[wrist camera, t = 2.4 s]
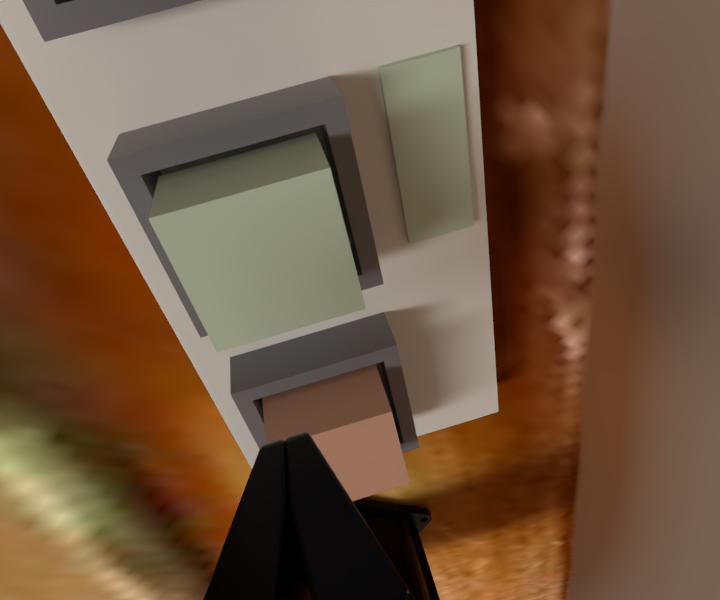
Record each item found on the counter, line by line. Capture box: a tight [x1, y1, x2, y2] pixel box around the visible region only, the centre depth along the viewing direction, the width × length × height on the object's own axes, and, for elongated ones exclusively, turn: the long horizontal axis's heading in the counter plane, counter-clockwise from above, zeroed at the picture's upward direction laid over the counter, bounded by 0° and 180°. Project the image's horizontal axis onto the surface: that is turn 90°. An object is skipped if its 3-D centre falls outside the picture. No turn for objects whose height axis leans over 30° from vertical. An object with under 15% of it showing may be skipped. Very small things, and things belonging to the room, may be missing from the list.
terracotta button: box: [262, 364, 410, 501], centre depth 20 cm, size 4×4×2 cm
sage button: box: [148, 133, 366, 352], centre depth 15 cm, size 4×4×2 cm
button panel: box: [0, 0, 499, 468], centre depth 17 cm, size 28×12×4 cm, turn 12°
